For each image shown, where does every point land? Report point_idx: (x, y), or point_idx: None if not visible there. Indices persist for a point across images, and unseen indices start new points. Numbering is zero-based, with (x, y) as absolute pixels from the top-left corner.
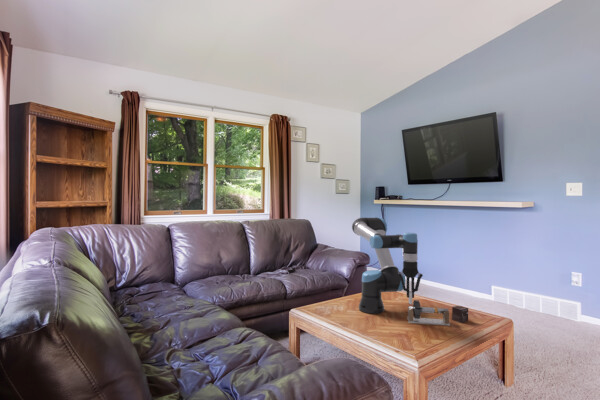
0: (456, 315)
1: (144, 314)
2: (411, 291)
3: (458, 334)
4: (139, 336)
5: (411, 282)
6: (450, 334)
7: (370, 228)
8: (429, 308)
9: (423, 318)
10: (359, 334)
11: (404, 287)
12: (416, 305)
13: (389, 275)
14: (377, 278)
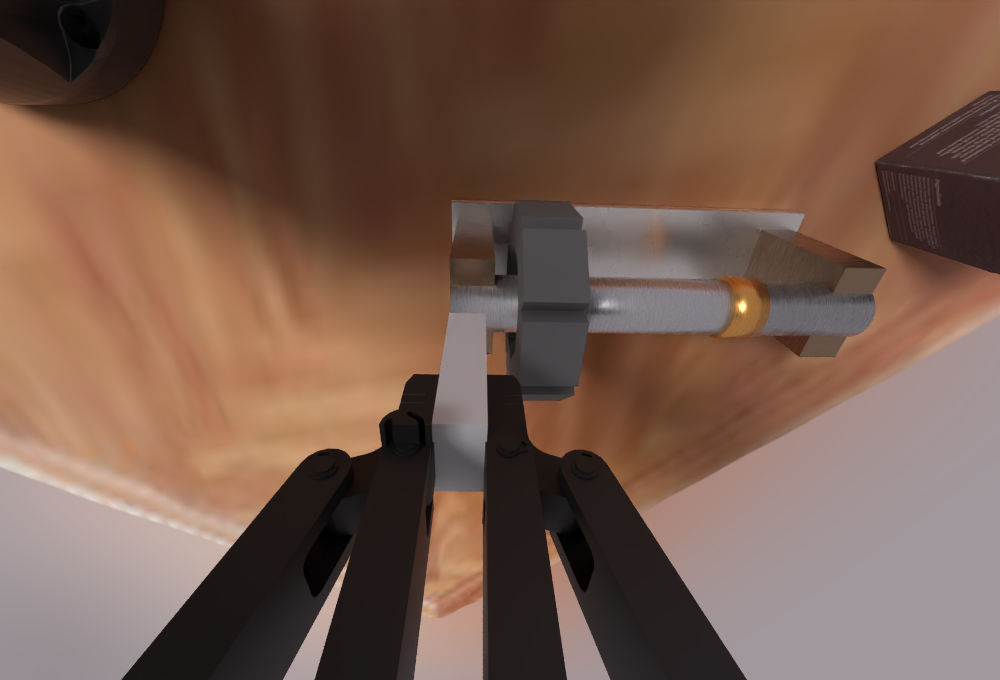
0: (932, 216)
1: None
2: (485, 437)
3: (712, 432)
4: None
5: (486, 673)
6: (666, 438)
7: None
8: (671, 332)
9: (598, 218)
10: (173, 510)
11: (318, 575)
12: (525, 398)
13: None
14: None
